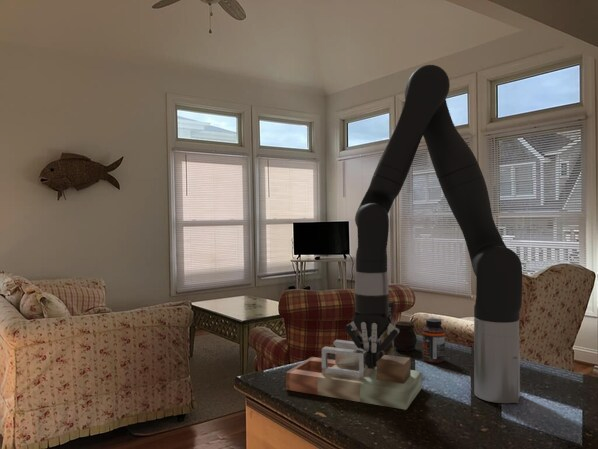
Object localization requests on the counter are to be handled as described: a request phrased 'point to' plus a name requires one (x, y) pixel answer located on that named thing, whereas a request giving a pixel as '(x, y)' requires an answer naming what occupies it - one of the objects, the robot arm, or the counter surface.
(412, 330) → the mate gourd
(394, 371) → the walnut block
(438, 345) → the supplement bottle
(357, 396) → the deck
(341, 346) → the tunnel
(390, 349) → the coffee box
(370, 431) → the counter surface
